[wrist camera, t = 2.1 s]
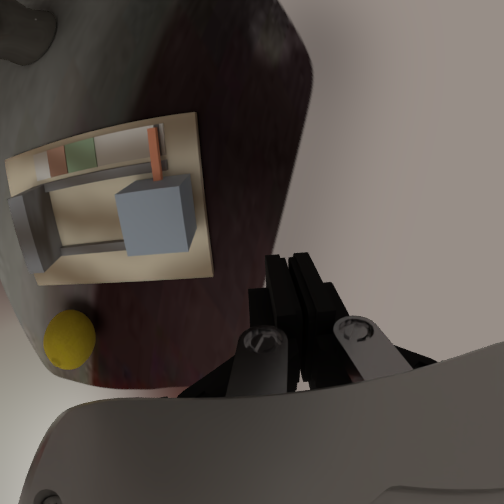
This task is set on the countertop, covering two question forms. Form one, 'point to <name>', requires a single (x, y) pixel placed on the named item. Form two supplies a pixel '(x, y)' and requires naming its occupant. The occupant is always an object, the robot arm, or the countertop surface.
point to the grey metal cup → (24, 32)
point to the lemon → (69, 339)
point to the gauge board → (102, 203)
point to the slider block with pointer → (157, 210)
